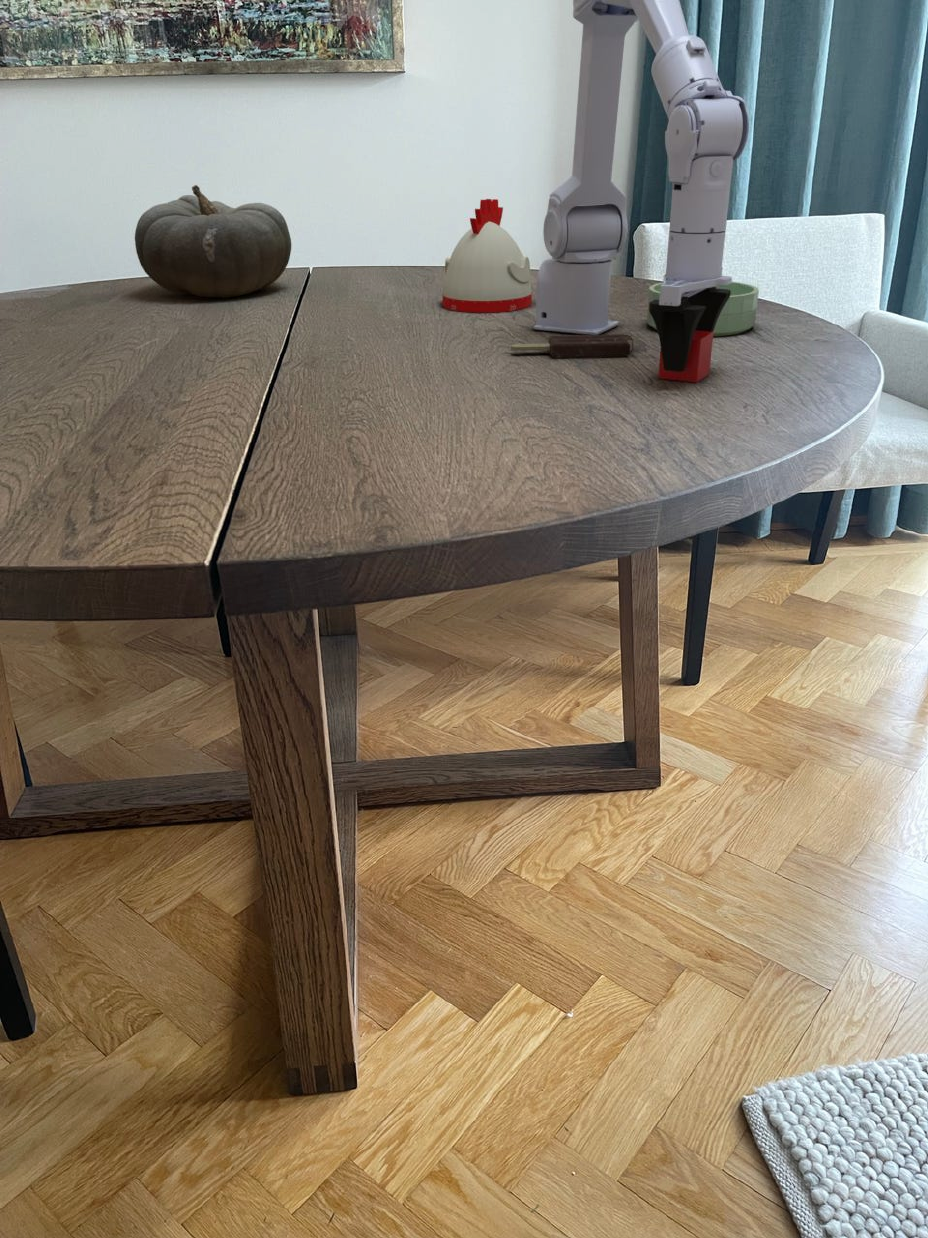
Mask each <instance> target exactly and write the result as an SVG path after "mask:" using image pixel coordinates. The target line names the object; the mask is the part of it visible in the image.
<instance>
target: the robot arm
mask: <svg viewBox="0 0 928 1238" xmlns="http://www.w3.org/2000/svg"><path fill="white" fill-rule="evenodd" d="M572 6H573V11H572V17H573V19H574V20H576V21H578V23H580V24H581V25H582V32H581V33H582V35H581V36H582V37H581V47H580V49H581V50H580V63H579V76H578V90H577V91H578V92H577V101H576V103H577V104H576V114H575V115H576V117H575V129H574V130H575V132H574V143H573V159H572V172H571V176H570V177H569V178H568V179H567V180H566V181H564V182H563V183H561V185H560V186H558V187H557V188H555V189H554V190H553V191H552V192H551V193H550V194H549V198H548V203H547V204H548V205H547V211H546V215H545V217H544V220H543V221H544V222H543V235H542V236H543V241H544V242H543V243H544V247H545V249H546V251H547V252H548V254H549V256H551V258H546V259H544V261H543V262H542V263H541V264H540V266H539V269H538V272H537V277H536V297H535V298H536V306H535V307H536V309H535V325H533V329H534V330H537V331H538V330H539V331H547V332H557V333H558V332H559V333H568V334H577V335H601V334H603V333H605V332H607V331H608V330H611V329H613V328H615V327H617V326H619V325H620V321H618V320H609V317H610V314H609V313H610V296H611V280H612V279H611V277H612V261H613V260H617V255H618V254H619V253H620V252H621V251H622V249H623V247H624V246H625V244H626V241H627V237H628V233H629V226H628V225H629V224H628V223H629V222H628V218H627V217H628V216H627V196H626V194H625V193H624V192H623V191H622V190H621V188H620V187H618V186H617V185H616V184H615V183H614V182H613V181H612V175H613V166H614V165H613V164H614V154H615V144H616V134H617V124H618V113H619V112H618V111H619V104H620V103H619V101H620V93H621V92H620V91H621V81H622V70H623V62H624V61H623V60H624V49H625V39H626V35H627V33H628V32H629V31H630V29H632V27H633V26H634V25H635V23H637V22H639V24H640V26H641V28H642V29H643V32H644V33H645V35H646V37H647V39H648V41H649V43H650V45H651V47H652V49H653V51H654V53H655V56H654V59H653V61H652V64H651V76H652V79H653V82H654V85H655V87H656V90H657V93H658V94H659V98H660V101H661V104H662V106H663V108H664V111H665V113H666V117H667V119H668V122H667V127H666V130H665V133H664V145H665V151H666V155H667V161H668V171H667V172H668V173H667V176H668V180H669V182H670V183H672V192H671V203H670V216H669V217H670V218H669V228H668V229H669V230H668V242H667V255H666V266H665V267H666V268H665V274H664V275H663V280H662V283H663V284H662V285H661V286H660V298H659V300H653V301H651V302H650V303H649V312H650V314H651V316H652V318H653V320H654V322H655V325H656V328H657V330H656V331H657V334H658V339H659V345H660V351H661V352H662V359H663V365H664V370H669V371H678V372H683V371H684V370H685V367H686V365H687V362H688V358H689V353H690V348H691V344H692V339H693V336H694V333H695V330H697V331H708V332H713V331H714V328H715V325H716V322H717V320H718V317H719V315H720V313H721V311H722V309H723V307H724V305H725V304H726V302H727V301H728V299H729V297H730V294H731V291H730V290H728V289H716V286H719V285H720V286H727V285H729V284H731V283H732V282H733V277H732V276H729V275H723V269H724V268H723V261H724V250H725V241H726V232H727V231H726V230H727V221H728V213H729V204H730V203H729V202H730V194H731V183H732V174H733V167H734V166H733V164H734V162H735V161H736V160H738V159H739V158H740V157H741V155H742V154H743V152H744V151H745V148H746V146H747V143H748V138H749V132H750V118H749V112H748V108H747V103H746V101H745V100H744V98H743V97H741V96H738V95H733V93H732V90H725V89H724V87H723V84H722V82H721V80H720V77H719V74H718V71H717V70H716V68H715V65H714V63H713V60H712V57H711V55H710V53H709V50H708V47H707V44H706V43H705V41H704V40H703V39H702V38H701V37H699V36H697V35H693V34H692V35H691V34H689V30H688V26H687V22H686V19H685V16H684V15H685V14H684V12H683V8H682V5H681V2H680V0H572Z"/></svg>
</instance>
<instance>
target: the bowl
mask: <svg viewBox="0 0 928 1238" xmlns="http://www.w3.org/2000/svg"><path fill="white" fill-rule="evenodd" d="M662 284H663V282H658V283H654V284H652V285H650V286H649V288H648V299H647V300H648V301H647V315H646V324H647V325H649V326H650V327H652V328H653V330H656V331H657V328H656V325H655V322H654V320H653V318H652V316H651V314H650V312H649V303H650V302H651V301H653V300H659V298H660V286H661V285H662ZM716 289H728V290H730V291H731V294H730V297H729V299H728V301H727V302H726V304H725V305H724V307H723V309H722V311H721V313H720V315H719V317H718V320H717V322H716V325H715V328H714V331H713V337H724V336H732V335H738V334H741V333H744V332H746V331H748V330H749V329H752V328H753V327H754V326H755V324H756V317H757V308H758V300H759V294H760V293H759V292H760V291H759V288H758V287H757V286H755V285H752V284H749V283H745V282H738V281H732V283H731V284H729V285H727V286H720V285H719V286H716Z"/></svg>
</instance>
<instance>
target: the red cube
mask: <svg viewBox="0 0 928 1238" xmlns="http://www.w3.org/2000/svg"><path fill="white" fill-rule="evenodd" d="M713 342H714V336H713V332H708V331H697V330H695V333H694V336H693V339H692V344H691V348H690V353H689V358H688V362H687V365H686V367H685V370H684V371H683V372H678V371H669V370H664V365H663V359H662V352H661V350H660V351H659V353H660V354H659V366H658V379H660V380H661V379H662V380H669V381H678V382H685V383H686V382H688V383H694V384H695V383H696V384H697V383H699V382H700V381H701V380H703V379H704V378H705V377H707V376H708V375H710V371H711V361H712V353H713V352H712V351H713Z"/></svg>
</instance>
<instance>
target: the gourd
mask: <svg viewBox="0 0 928 1238" xmlns="http://www.w3.org/2000/svg"><path fill="white" fill-rule="evenodd" d="M191 190H192V194H185V195H181V196H180V197H179V198H178V199H173V200H171V201H168V202H164V203H159V204H155V205H153V206H151V207H150V208H148V209H147V210H146V211H144V212H143V213H142V215H141V216H140V217H139V219H138V221H137V224H136V227H135V233H134V245H135V252H136V255H137V258H138V262H139V264H140V266H141V268H142V270H143V271H144V273H145V274H146V275H147V276H148V277H149V278H150V279H151V280H152V281H153V282H155V283H156V284H157V285H159V287H161V288H163V289H164V290H166V291H169V292H171V293H176V294H178V295H192V294H193V295H195V296H197V297H200V298H221V299H227V298H232V297H233V298H234V297H240V296H241V297H242V296H246V295H247V294H250V293H253V292H256V291H260V290H261V291H262V290H264V289H266V288H268V287H270V286H271V285H272V284H274V283H275V282H276V281H278V279H279V278H280V277H281V276H282V275H283V273H284V272H285V271H286V269H287V267H288V264H289V262H290V259H291V253H292V238H291V234H290V231H289V226H288V223H287V221H286V219H285V217H284V216H283V214H282V213H281V212H280V210H278V209H277V208H275V207H274V206H271V205H269V204H267V203H263V202H251V203H245V204H242V205H239V206H237V207H232V206H230V205H227V204H225V203H224V202H221V201H218V200H212V201H211V200H209V199H208V197H207V196H205V195H204V194H203V193H202V191H201V189H200V187H199V185H197V184H194V185H193V186H192V187H191Z"/></svg>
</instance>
